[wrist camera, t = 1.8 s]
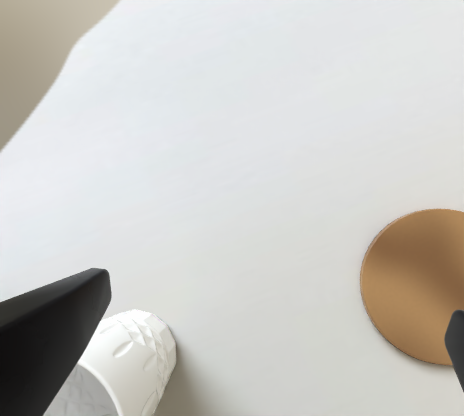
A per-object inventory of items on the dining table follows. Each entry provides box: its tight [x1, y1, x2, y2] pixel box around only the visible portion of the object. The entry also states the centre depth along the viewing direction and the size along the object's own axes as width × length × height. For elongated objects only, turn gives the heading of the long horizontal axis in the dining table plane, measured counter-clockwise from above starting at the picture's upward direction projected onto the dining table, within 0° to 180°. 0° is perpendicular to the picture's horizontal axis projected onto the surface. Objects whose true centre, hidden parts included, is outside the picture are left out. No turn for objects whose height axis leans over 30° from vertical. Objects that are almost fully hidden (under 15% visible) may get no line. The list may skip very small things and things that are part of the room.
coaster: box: [360, 209, 464, 365], centre depth 22 cm, size 11×11×1 cm
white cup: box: [43, 310, 176, 416], centre depth 19 cm, size 8×8×10 cm
